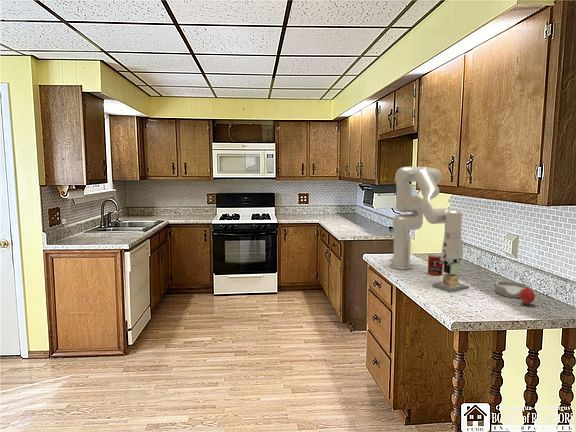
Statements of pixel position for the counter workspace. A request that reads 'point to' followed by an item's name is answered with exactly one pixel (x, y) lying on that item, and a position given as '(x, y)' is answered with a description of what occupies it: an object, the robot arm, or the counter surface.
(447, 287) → the build board
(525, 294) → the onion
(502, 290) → the dish
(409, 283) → the counter surface
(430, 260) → the canned food
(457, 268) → the sage block
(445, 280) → the oak block
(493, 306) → the counter surface
